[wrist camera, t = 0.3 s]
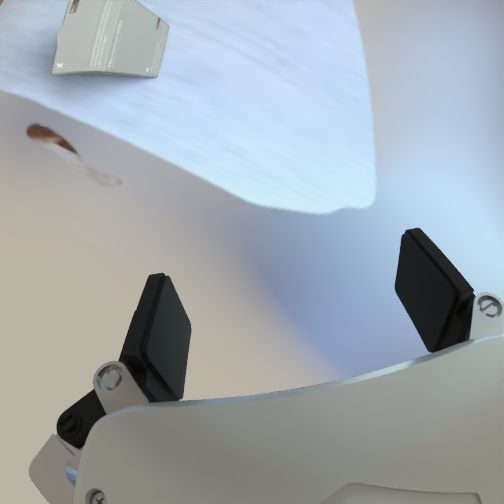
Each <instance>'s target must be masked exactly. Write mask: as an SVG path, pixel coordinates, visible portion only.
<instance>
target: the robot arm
mask: <svg viewBox="0 0 504 504" xmlns="http://www.w3.org/2000/svg"><path fill="white" fill-rule="evenodd" d="M395 291H396V293H397V295H398V297H399V299H400V301H401V302H402V304H403V306H404V307H405V309H406V311H407V313H408V314H409V316H410V318H411V320H412V322H413V324H414V325H415V327H416V329H417V331H418V333H419V335H420V337H421V339H422V340H423V342H424V344H425V346H426V348H427V350H428V351H429V352H430V353H431V352H432V353H431V354H428V355H425V356H422V357H419V358H416V359H413V360H410V361H407V362H404V363H401V364H397V365H394V366H391V367H387V368H384V369H380V370H377V371H373V372H369V373H365V374H361V375H358V376H353V377H349V378H345V379H341V380H337V381H332V382H327V383H323V384H317V385H312V386H307V387H301V388H296V389H290V390H284V391H277V392H270V393H263V394H255V395H248V396H239V397H228V398H215V399H203V400H188V401H179V399H182V398H183V393H184V384H185V375H186V367H187V359H188V351H189V344H190V337H191V324H190V321H189V319H188V316H187V314H186V312H185V310H184V308H183V305H182V303H181V301H180V299H179V297H178V294H177V292H176V290H175V288H174V285H173V283H172V281H171V278H170V277H169V276H165V274H164V273H158V274H152V275H149V277H148V279H147V282H146V284H145V287H144V290H143V292H142V295H141V298H140V301H139V304H138V307H137V310H136V311H135V312H134V315H133V318H132V321H131V323H130V326H129V330H128V333H127V336H126V339H125V342H124V345H123V348H122V351H121V355H120V358H119V361H111V362H107V363H105V364H103V365H102V366H101V367H100V368H99V369H98V370H97V371H96V373H95V375H94V378H93V386H94V389H93V390H92V391H91V392H89V393H88V394H87V395H86V396H84V397H83V398H81V399H80V400H79V401H78V402H76V403H75V404H74V405H72V406H71V407H70V408H68V409H67V410H66V411H64V412H63V413H62V414H61V415H60V417H59V419H58V422H57V435H54V434H52V436H51V437H50V438H49V439H48V441H47V442H46V443H45V445H44V446H43V447H42V449H41V450H40V451H39V453H38V454H37V455H36V457H35V458H34V459H33V461H32V462H31V464H30V467H29V475H30V478H31V480H32V481H33V483H34V484H35V486H36V487H37V488H38V490H39V491H40V492H41V494H42V495H43V496H44V497H45V499H46V500H47V501H48V502H49V503H50V504H504V304H503V302H502V301H501V300H500V298H498V297H497V296H495V295H494V294H491V293H486V292H485V293H480V294H478V295H477V296H475V295H474V294H473V291H474V289H473V288H472V287H471V286H470V285H469V283H468V282H467V281H466V280H465V278H464V277H463V276H462V275H461V273H460V272H459V271H458V270H457V269H456V268H455V267H454V265H453V264H452V263H451V262H450V261H449V259H448V258H447V257H446V256H445V255H444V254H443V253H442V251H441V250H440V249H439V248H438V247H437V246H436V245H435V244H434V243H433V242H432V241H431V240H430V239H429V238H428V236H427V235H426V234H425V233H424V232H423V231H422V230H421V229H420V228H414V229H409V230H406V232H405V234H403V235H402V238H401V246H400V254H399V262H398V269H397V275H396V281H395Z"/></svg>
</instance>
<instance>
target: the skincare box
mask: <svg viewBox="0 0 504 504" xmlns="http://www.w3.org/2000/svg"><path fill="white" fill-rule="evenodd" d="M168 30H169V25H168V24H167V23H166V22H165V21H163V20H162V19H161V18H159V17H158V16H157V15H155V14H154V13H153V12H151V11H150V10H149V9H147V8H146V7H144V6H143V5H142V4H140V3H139V2H137V1H136V0H70V1H69V4H68V7H67V10H66V13H65V17H64V21H63V24H62V27H61V28H60V30H59V32H58V34H57V48H56V53H55V58H54V63H53V69H52V75H53V76H54V75H70V74H83V75H109V76H132V77H152V78H157V77H158V73H159V69H160V65H161V61H162V57H163V53H164V49H165V44H166V40H167V35H168Z"/></svg>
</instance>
